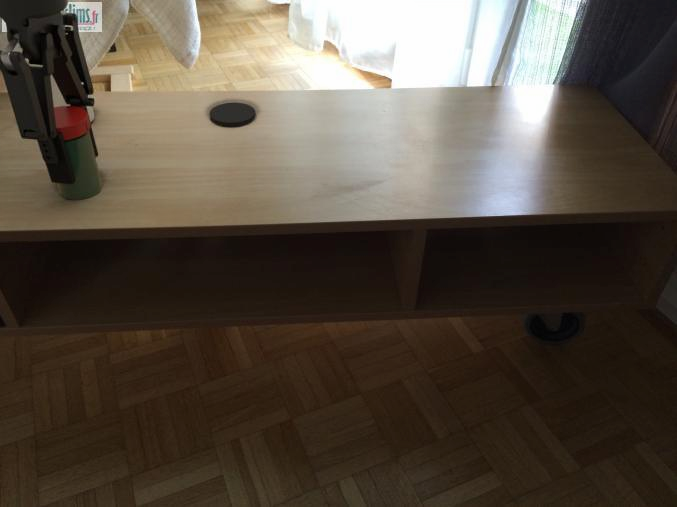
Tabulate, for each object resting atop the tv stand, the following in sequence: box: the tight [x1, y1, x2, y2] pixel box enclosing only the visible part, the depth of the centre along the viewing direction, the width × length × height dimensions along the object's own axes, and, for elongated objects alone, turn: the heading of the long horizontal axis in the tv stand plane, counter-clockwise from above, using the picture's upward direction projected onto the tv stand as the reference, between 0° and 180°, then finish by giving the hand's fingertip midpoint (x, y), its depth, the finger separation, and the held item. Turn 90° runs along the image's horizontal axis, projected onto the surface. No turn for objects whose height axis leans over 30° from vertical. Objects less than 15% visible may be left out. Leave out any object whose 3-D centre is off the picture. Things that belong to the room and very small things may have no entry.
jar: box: [56, 131, 103, 201], centre depth 75 cm, size 5×5×9 cm
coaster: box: [209, 101, 256, 128], centre depth 95 cm, size 7×7×1 cm
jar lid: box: [54, 106, 90, 140], centre depth 73 cm, size 6×6×2 cm
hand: (75, 167), depth 76 cm, fingers closed on jar lid, 6 cm apart
